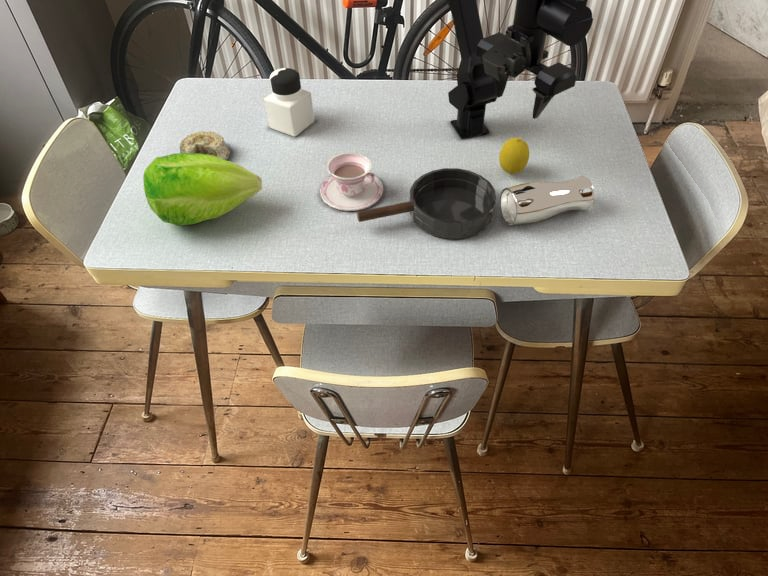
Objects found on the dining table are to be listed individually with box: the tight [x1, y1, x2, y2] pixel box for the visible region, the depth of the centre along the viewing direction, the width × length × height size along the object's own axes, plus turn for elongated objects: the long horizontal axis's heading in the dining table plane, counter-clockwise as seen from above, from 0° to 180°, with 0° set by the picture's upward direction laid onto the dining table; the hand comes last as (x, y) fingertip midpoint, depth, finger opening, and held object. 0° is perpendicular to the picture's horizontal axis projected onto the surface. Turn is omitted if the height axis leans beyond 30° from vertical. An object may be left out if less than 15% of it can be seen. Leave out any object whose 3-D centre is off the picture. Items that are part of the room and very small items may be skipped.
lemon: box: [498, 137, 530, 175], centre depth 109 cm, size 6×6×8 cm
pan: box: [409, 167, 498, 240], centre depth 103 cm, size 15×15×4 cm
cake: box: [179, 130, 231, 160], centre depth 116 cm, size 10×10×5 cm
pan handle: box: [356, 200, 414, 223], centre depth 100 cm, size 2×10×2 cm, turn 106°
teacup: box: [319, 152, 384, 212], centre depth 107 cm, size 12×12×6 cm
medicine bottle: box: [263, 67, 315, 138], centre depth 120 cm, size 7×7×12 cm
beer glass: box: [499, 175, 595, 226], centre depth 101 cm, size 7×7×15 cm
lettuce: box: [142, 152, 263, 226], centre depth 101 cm, size 14×20×12 cm
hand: (516, 107), depth 105 cm, fingers open, 9 cm apart
